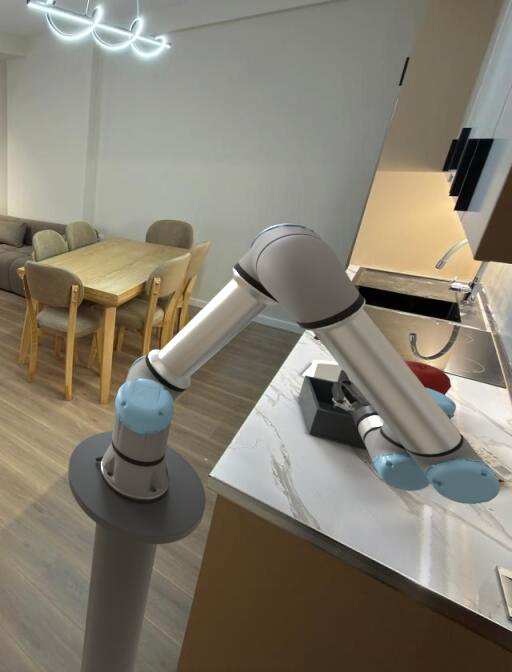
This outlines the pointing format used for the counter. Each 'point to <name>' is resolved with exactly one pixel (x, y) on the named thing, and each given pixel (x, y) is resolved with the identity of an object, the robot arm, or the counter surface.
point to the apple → (430, 376)
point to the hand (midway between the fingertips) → (351, 376)
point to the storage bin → (326, 413)
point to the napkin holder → (324, 370)
